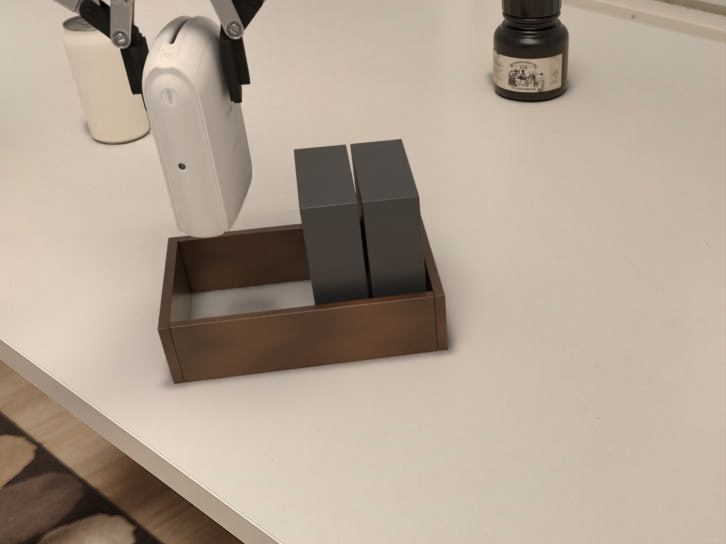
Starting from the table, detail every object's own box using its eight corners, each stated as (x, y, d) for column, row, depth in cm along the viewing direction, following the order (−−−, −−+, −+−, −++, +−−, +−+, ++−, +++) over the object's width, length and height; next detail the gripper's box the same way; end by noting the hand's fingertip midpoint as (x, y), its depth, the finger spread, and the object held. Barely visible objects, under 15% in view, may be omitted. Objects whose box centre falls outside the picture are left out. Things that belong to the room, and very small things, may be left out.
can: (106, 150, 104) (72, 35, 96) (83, 132, 108) (48, 20, 100) (160, 134, 107) (131, 21, 99) (136, 117, 111) (106, 7, 102)
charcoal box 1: (322, 353, 73) (299, 208, 65) (315, 286, 80) (293, 148, 72) (374, 347, 73) (357, 202, 65) (362, 281, 80) (345, 143, 72)
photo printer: (234, 239, 65) (193, 51, 56) (171, 240, 65) (122, 52, 56) (260, 173, 72) (228, -1, 64) (205, 174, 72) (165, 0, 64)
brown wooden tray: (177, 396, 71) (157, 329, 67) (185, 301, 81) (167, 237, 77) (448, 362, 73) (445, 295, 69) (424, 273, 83) (419, 210, 79)
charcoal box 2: (378, 346, 73) (361, 202, 65) (366, 281, 80) (349, 143, 72) (429, 340, 74) (419, 196, 66) (412, 275, 81) (401, 138, 73)
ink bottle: (480, 98, 113) (478, -12, 105) (503, 72, 119) (502, -33, 111) (559, 106, 110) (563, -5, 102) (578, 79, 116) (583, -28, 108)
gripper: (275, -254, 55) (319, 69, 67) (-32, -240, 53) (71, 91, 65) (279, -240, 49) (325, 109, 62) (-63, -224, 47) (55, 134, 60)
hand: (194, 96), depth 63 cm, fingers closed on photo printer, 4 cm apart
